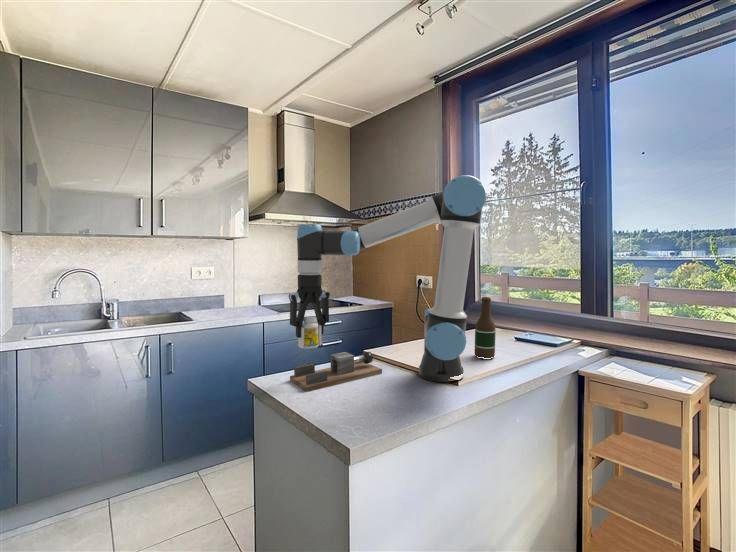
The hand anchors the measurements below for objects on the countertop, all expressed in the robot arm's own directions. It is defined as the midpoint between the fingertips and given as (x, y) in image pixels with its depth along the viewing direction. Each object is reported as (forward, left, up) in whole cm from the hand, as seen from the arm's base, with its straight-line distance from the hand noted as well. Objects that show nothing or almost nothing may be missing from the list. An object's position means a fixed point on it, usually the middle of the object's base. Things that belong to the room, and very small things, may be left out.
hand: (310, 345), depth 124 cm
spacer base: (0, -10, -12) cm, 16 cm away
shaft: (0, -17, -10) cm, 20 cm away
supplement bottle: (0, 0, -1) cm, 1 cm away
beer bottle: (-14, -70, -13) cm, 73 cm away
